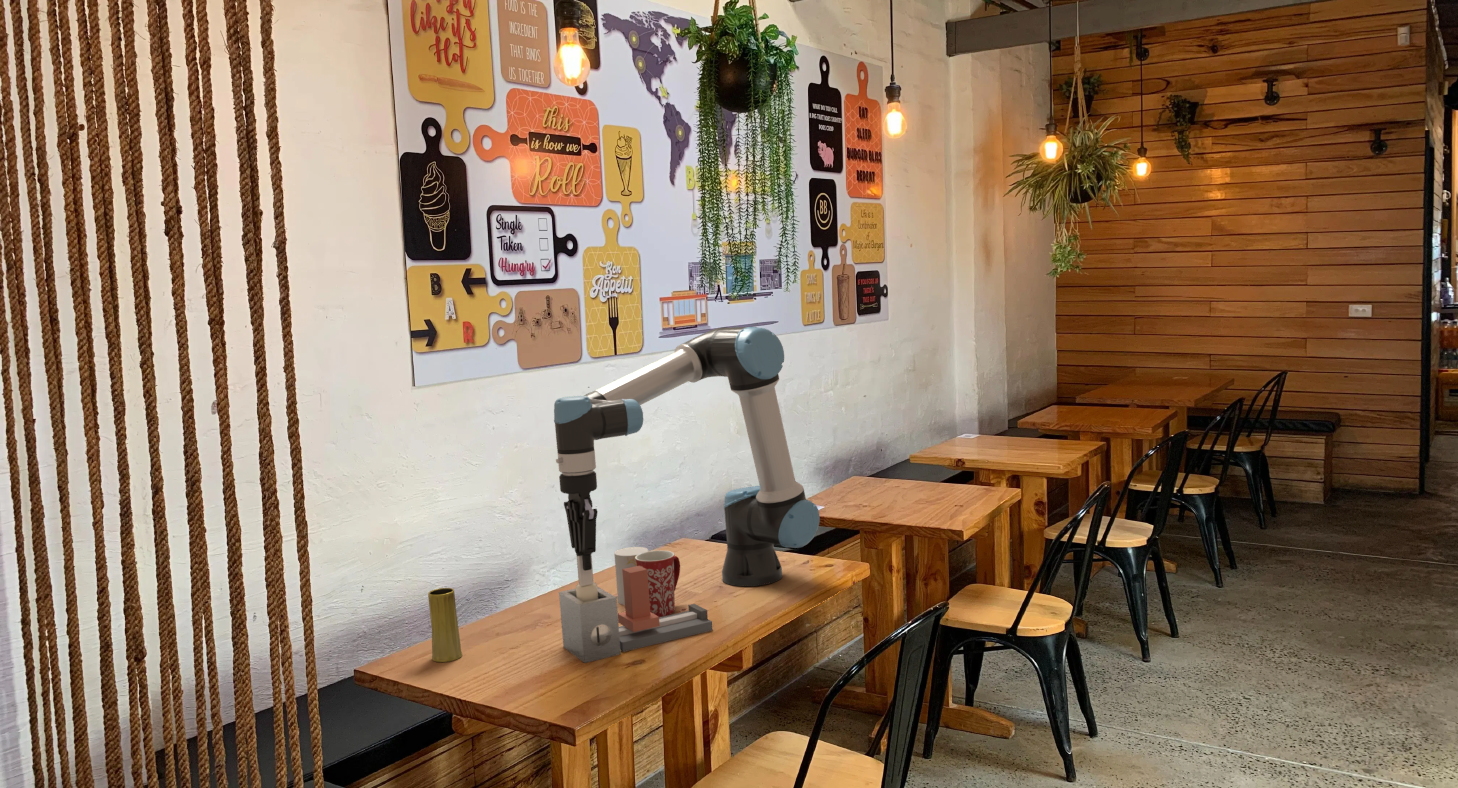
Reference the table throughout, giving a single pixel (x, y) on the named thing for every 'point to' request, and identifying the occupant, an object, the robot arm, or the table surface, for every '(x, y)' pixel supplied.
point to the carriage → (637, 601)
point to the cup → (625, 566)
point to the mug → (660, 579)
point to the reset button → (587, 592)
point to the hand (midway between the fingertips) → (586, 584)
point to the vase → (444, 625)
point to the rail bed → (667, 629)
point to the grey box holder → (590, 625)
